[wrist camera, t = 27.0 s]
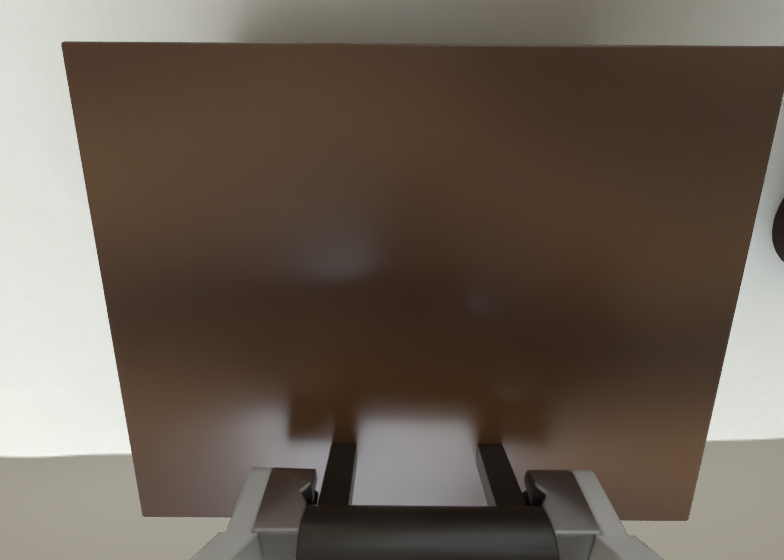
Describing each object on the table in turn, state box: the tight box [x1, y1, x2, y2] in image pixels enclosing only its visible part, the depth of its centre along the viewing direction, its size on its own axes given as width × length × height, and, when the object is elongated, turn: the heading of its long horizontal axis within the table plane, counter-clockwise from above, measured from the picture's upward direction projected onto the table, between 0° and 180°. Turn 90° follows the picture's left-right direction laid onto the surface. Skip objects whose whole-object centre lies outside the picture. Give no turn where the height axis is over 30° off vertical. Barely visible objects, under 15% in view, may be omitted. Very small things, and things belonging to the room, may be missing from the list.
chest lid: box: [61, 42, 784, 560], centre depth 9 cm, size 12×16×5 cm
